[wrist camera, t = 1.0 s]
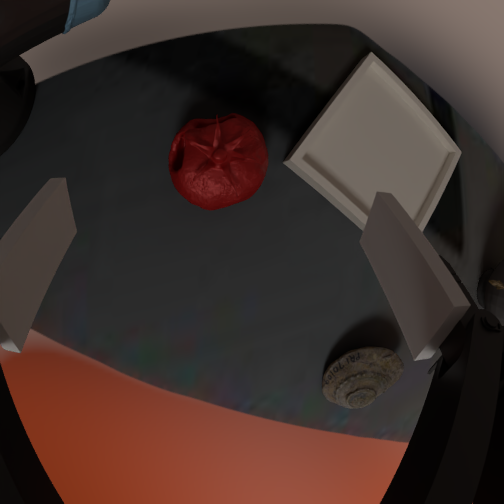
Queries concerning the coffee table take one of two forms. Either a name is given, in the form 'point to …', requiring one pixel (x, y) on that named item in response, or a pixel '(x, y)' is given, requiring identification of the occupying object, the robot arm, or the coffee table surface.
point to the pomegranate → (218, 161)
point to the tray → (376, 147)
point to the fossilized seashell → (361, 376)
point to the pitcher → (492, 291)
